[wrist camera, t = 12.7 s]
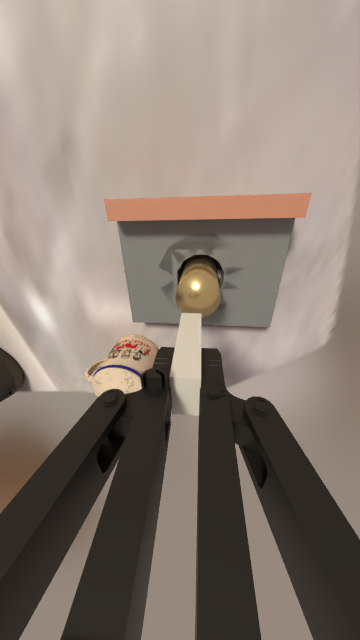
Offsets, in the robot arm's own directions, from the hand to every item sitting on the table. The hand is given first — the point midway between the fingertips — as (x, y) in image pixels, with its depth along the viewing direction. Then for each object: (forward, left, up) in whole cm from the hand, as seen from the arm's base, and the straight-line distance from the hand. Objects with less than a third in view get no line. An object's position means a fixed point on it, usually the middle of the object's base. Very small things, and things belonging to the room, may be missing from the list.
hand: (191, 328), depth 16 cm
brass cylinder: (0, 0, -16) cm, 16 cm away
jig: (0, +1, -16) cm, 16 cm away
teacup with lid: (-13, -16, -16) cm, 26 cm away
